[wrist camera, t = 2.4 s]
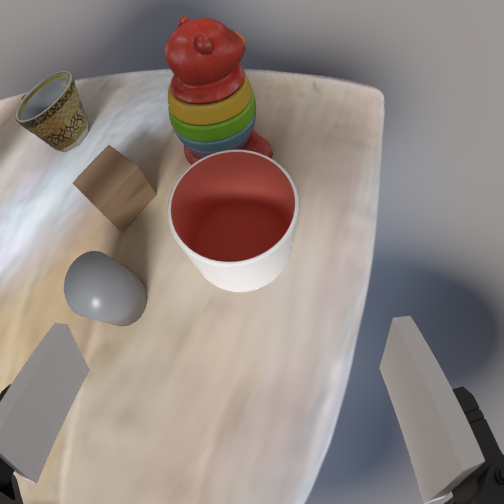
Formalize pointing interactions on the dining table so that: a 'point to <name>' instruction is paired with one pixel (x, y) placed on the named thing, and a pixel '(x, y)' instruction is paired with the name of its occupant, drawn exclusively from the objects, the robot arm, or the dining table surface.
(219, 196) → the cup
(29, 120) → the ceramic cup
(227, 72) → the stacking bear
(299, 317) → the dining table surface
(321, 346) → the dining table surface
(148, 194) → the walnut block
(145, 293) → the grey rounded cylinder
